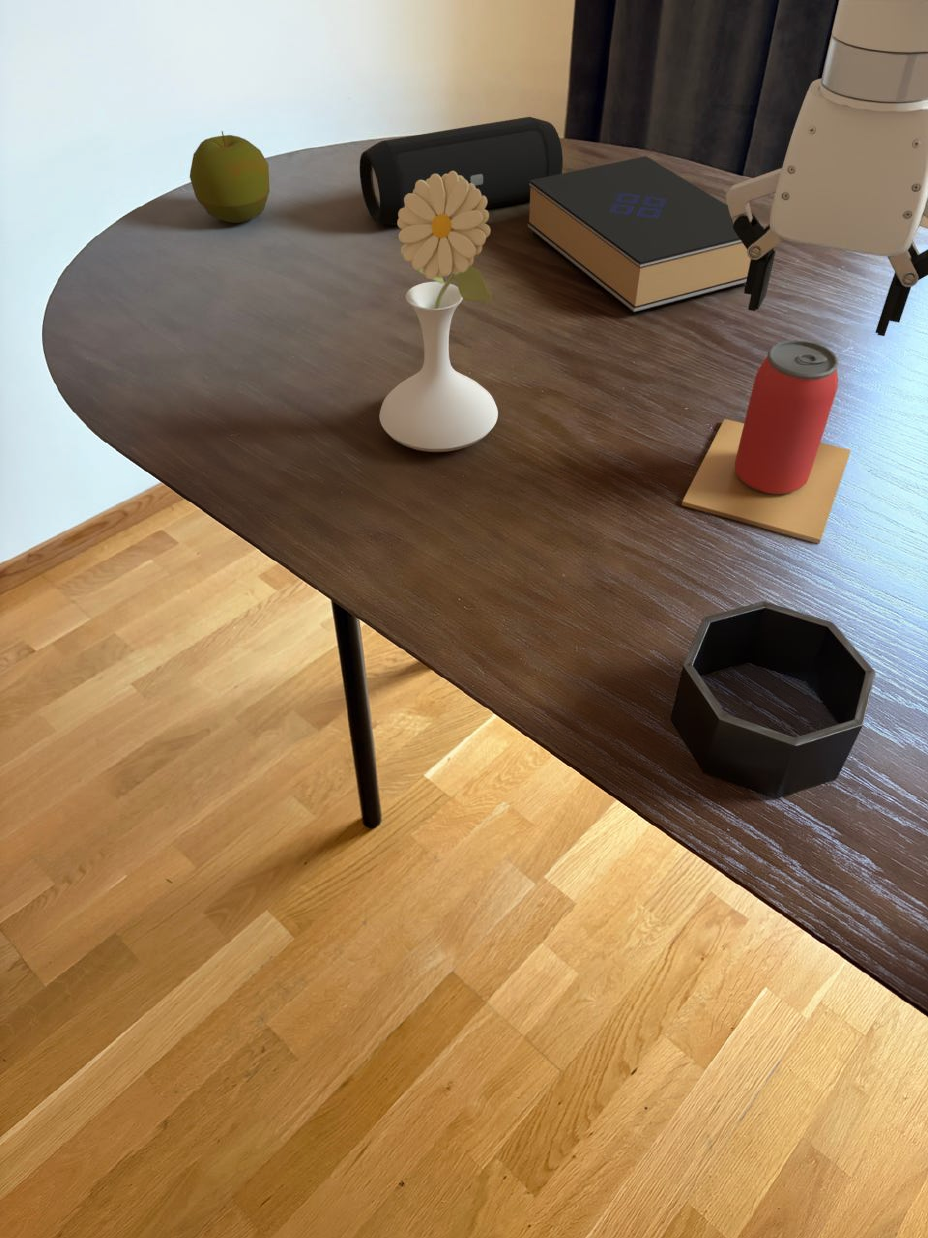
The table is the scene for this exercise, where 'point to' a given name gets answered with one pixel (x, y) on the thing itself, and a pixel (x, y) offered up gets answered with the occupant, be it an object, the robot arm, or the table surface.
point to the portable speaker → (461, 163)
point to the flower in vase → (441, 317)
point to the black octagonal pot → (787, 650)
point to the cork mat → (775, 512)
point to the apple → (230, 178)
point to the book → (639, 231)
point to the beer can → (787, 416)
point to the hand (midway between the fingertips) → (818, 315)
